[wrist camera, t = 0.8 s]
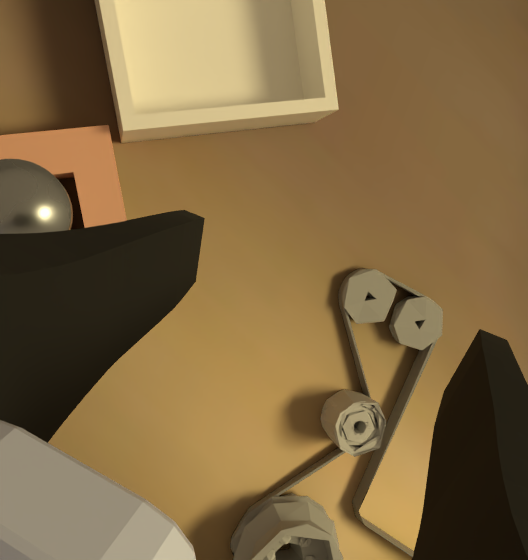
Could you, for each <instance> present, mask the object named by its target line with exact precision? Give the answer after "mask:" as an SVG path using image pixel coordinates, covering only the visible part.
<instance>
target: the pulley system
mask: <svg viewBox="0 0 528 560" xmlns="http://www.w3.org/2000/svg"><path fill="white" fill-rule="evenodd" d="M389 281H390V282H391V283H393V284H395V285H397V286H398V287H400V288H402V289H404V290H406V291H407V292H409V293H411V294H413V295H414V296H416V297H414V296H412V297H410V296H408V297H406V298H405V299H403V300H401V301H400V302H398V303H397V304H395V308H394V311H393V314H392V318H391V321H390V325H389V329H390V331H391V333H392V336H393V337H394V338H395V340H396V341H397V342H399V343H400V344H403V345H406V346H410V347H413V348H416V349H419V352H418V354H417V357H416V359H415V361H414V363H413V366H412V368H411V370H410V372H409V375H408V377H407V379H406V381H405V383H404V386H403V388H402V390H401V392H400V395H399V397H398V399H397V401H396V404H395V406H394V408H393V410H392V412H391V415H390V417H389V419H388V421H387V424H386V420H385V417H384V415H383V413H382V410H381V408H380V406H379V403H378V402H376V401H374V400H373V399H371V397H370V394H369V390H368V386H367V383H366V379H365V375H364V371H363V368H362V364H361V360H360V357H359V353H358V349H357V345H356V342H355V338H354V334H353V330H352V327H351V323H350V319H349V316H348V314H349V315H350V316H351V317H352V319H353V320H354V321H355V322H356V324H359V323H376V322H382V321H385V318H386V316H387V314H388V312H389V309H390V307H391V305H392V302H393V300H394V297H395V294H396V291H397V289H396V288H395V287H394V286H393V285H392V284H391V283H390V282H389ZM367 295H368V296H369V297H368V298H366V296H367ZM338 298H339V306H340V309H341V313H342V317H343V320H344V324H345V327H346V331H347V334H348V338H349V342H350V346H351V349H352V353H353V357H354V361H355V365H356V369H357V372H358V376H359V380H360V384H361V388H362V392H363V394H362V393H360V392H356V391H351V390H346V389H345V390H341V391H339V392H337V393H335V394H334V395H332V396H331V397H329V398H328V399H327V400H326V402H325V404H324V406H323V408H322V413H321V417H320V419H321V424H322V427H323V429H324V430H325V431H326V434H327V435H328V436H329V438H330V439H331V440H332V441H333V442H334V443H335V444H336V445H337V446H338V448H337V449H335V450H334V451H332V452H331V453H329V454H328V455H326V456H325V457H323V458H322V459H321V460H319V461H318V462H316V463H315V464H313V465H312V466H310V467H309V468H307V469H306V470H304V471H303V472H301V473H300V474H298V475H297V476H295V477H294V478H292V479H291V480H289V481H288V482H286V483H285V484H283V485H282V486H280V487H279V488H277V489H276V490H274V491H273V492H271V493H270V494H268V495H267V496H265V497H264V498H262V499H261V500H259V501H258V502H256V503H255V504H254V505H252V506H251V507H250V508H249V509H248V510H247V512H246V513H245V515H244V516H243V517H242V519H241V521H240V523H239V524H238V526H237V528H236V530H235V531H234V533H233V535H232V537H231V543H230V548H231V551H232V553H233V555H234V558H233V560H343V556H342V554H341V552H340V550H339V543H338V539H337V534H336V529H335V525H334V521H332V520H331V519H330V518H329V517H328V515H327V513H326V511H325V510H324V508H323V506H321V505H320V504H318V503H317V502H315V501H314V500H312V499H311V498H309V497H308V496H297V495H295V494H293V493H290V494H287V495H284V496H281V497H278V496H279V495H281V494H282V493H284V492H285V491H287V490H288V489H290V488H291V487H293V486H294V485H296V484H298V483H299V482H301V481H302V480H304V479H305V478H307V477H308V476H310V475H311V474H313V473H314V472H316V471H317V470H319V469H321V468H322V467H324V466H325V465H327V464H328V463H330V462H331V461H333V460H334V459H336V458H337V457H339V456H340V455H342V454H344V453H345V452H347V453H349V454H351V455H353V456H358V455H361V454H365V453H367V452H370V451H373V450H374V453H373V455H372V457H371V459H370V461H369V464H368V466H367V468H366V471H365V473H364V475H363V477H362V480H361V482H360V484H359V486H358V489H357V491H356V493H355V495H354V498H353V500H352V504H353V508H354V512H355V516H356V517H357V518H358V519H359V520H360V521H361V522H362V523H363V524H364V525H365V526H367V527H368V528H370V529H371V530H373V531H374V532H376V533H377V534H379V535H380V536H382V537H383V538H385V539H386V540H388V541H389V542H391V543H392V544H394V545H395V546H397V547H398V548H400V549H401V550H403V551H404V552H406V553H407V554H409V555H410V556H411V557H413V554H414V551H413V550H411V549H410V548H408V547H406V546H405V545H403V544H402V543H400V542H399V541H397V540H396V539H394V538H393V537H391V536H390V535H388V534H387V533H385V532H384V531H382V530H381V529H379V528H378V527H376V526H375V525H373V524H372V523H370V522H369V521H367V520H366V519H364V518H363V517H361V516H360V514H359V509H360V507H361V505H362V502H363V500H364V498H365V496H366V494H367V492H368V489H369V487H370V485H371V483H372V481H373V479H374V476H375V474H376V472H377V470H378V468H379V465H380V463H381V461H382V459H383V457H384V455H385V452H386V450H387V448H388V446H389V444H390V442H391V439H392V437H393V435H394V433H395V431H396V428H397V426H398V424H399V422H400V420H401V418H402V415H403V413H404V411H405V409H406V407H407V405H408V402H409V400H410V398H411V396H412V394H413V392H414V389H415V387H416V385H417V383H418V381H419V378H420V376H421V374H422V372H423V370H424V368H425V365H426V363H427V361H428V359H429V357H430V355H431V352H432V350H433V348H434V346H435V344H436V341H437V339H438V338H439V337H441V336H442V321H443V309H442V308H441V307H440V306H439V305H437V304H436V303H435V302H434V301H433V300H432V299H430V298H429V297H427V296H425V295H423V294H421V293H419V292H417V291H415V290H413V289H412V288H410V287H408V286H406V285H404V284H402V283H400V282H398V281H396V280H395V279H393V278H391V277H389V276H387V275H385V274H383V273H381V272H379V271H378V270H376V269H364V268H363V269H358V270H355V271H353V272H351V273H350V274H349V275H347V277H346V278H345V279H344V280H343V282H342V284H341V286H340V289H339V294H338ZM385 424H386V425H385ZM288 543H290V548H289V549H285V550H279V551H277V550H278V549H279V548H280V547H281V546H282V545H283V544H288Z"/></svg>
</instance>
